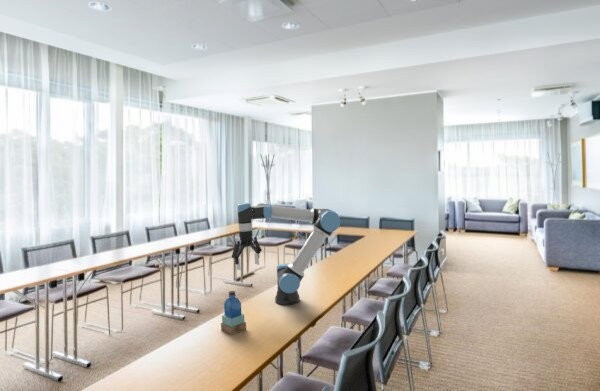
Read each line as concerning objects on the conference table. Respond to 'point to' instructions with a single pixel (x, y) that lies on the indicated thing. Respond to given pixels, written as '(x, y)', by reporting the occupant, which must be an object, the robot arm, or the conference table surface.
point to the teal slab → (233, 320)
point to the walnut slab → (233, 328)
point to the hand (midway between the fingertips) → (248, 267)
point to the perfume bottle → (232, 306)
